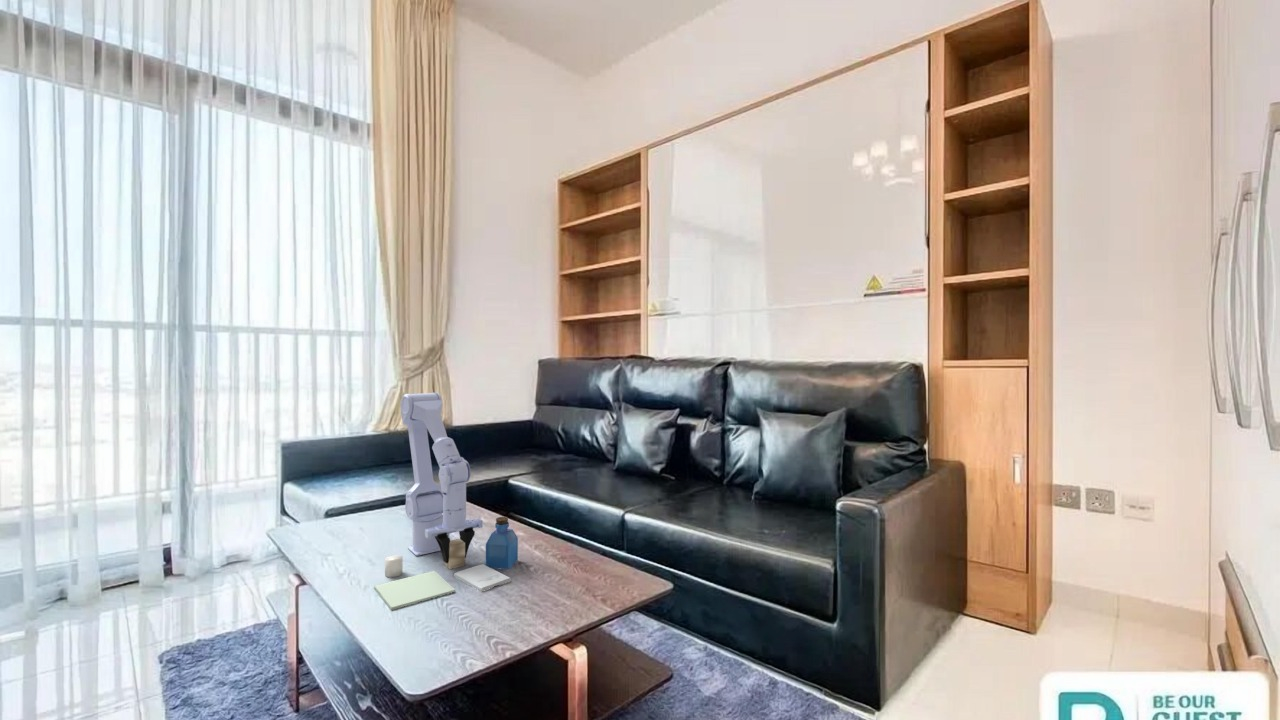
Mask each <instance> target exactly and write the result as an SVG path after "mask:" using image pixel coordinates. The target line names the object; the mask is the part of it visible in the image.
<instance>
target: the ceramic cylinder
mask: <svg viewBox="0 0 1280 720" xmlns="http://www.w3.org/2000/svg"><path fill="white" fill-rule="evenodd" d="M402 574H403V555H401V554H400V555H399V554H395V555H390V556H386V557H385V559H384V576H385V577H387V578H396V577H398V576H402Z"/></svg>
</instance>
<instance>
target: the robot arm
mask: <svg viewBox="0 0 1280 720" xmlns="http://www.w3.org/2000/svg"><path fill="white" fill-rule="evenodd" d="M400 401H401V402H400V406H399V407H400V414H401V415H400V416H401V421H402V424H403V425H404V426H407V430H408V438H409V439H408V440H409V447H410V454H411V462H412V470H413V471H412V472H413V478H414V484H413V486H412V487H411V488H410V489H409V490H407V492H406V493H405V505H404V507H405V508H404V509H405V514H406V517H407V518H408V519H409V520H411V521H412V545H408V546H407V549H408V550H409V551H410V552H411V553H412V554H414V555H415V556H416V557H417V556H418V557H419V556H422V555H426V554H432V553H435V552H441V555H442V561H443V563H444V562H445V563H448V562H449V543H450V540H451V538H450V534H452V533H457V532H458V533H459V539H461V540H462V541H463V542H465V559H467V555H468V551H469V548H470V545H471V542H472V540H473V538H474V537H475V534H476V533H475V530H474V529H476V528H478V529H480V528H483V522H484V521H483V519H481V518H475V519H473V518H472V519H467V482H469V481H470V479H471V474H472V473H471V467H470V463H469V462H468V461H467V459H465V458H464V457H463V456H461V455H460V452H459V450H458V448H457V445H456V443H455V441H454V439H453V438H451V437H448V435H447V431H446V427H445V424H444V421H443V418H442V415H441V414H442V412H443V398H442V396H441V394H440V393H439V392H437V391H436V392H425V393H405V394H404V395H403V396H402V397H401V400H400ZM428 432H429V433H428ZM428 434H429V435H430V436H431V438H432V440H433V442H434V443H433V444H432V447H431V449H432V451H433V454H434V456H435V460H436V462H437V464H438V467H439V471H438V479H439V483H440V484H439V483H437V482H435V480H434V474H433V465H432V459H431V450H430V443H429V442H430V441H429V435H428Z"/></svg>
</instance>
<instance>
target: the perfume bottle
mask: <svg viewBox="0 0 1280 720" xmlns="http://www.w3.org/2000/svg"><path fill="white" fill-rule="evenodd" d="M508 520H509V517H508V516H499V517H497V518H496V519H495V521H496V523H495V526H494V527H495V530H494V531H492V532H491V534H490V535H489V538H488V539H487V540H486V543H485V565H486V566H488V567H490V568H492V569H498V568H501V569H500V570H509V569H511V568H512V566H514V564H515V563H517V561H519V559H518V558H519V556H518V553H519V548H518V547H519V544H518V543H519V542H518V541H519V537H518V535H517V534H516V532H515V531H514V530H513V528H509V526H510V523H509V521H508Z"/></svg>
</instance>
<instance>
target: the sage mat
mask: <svg viewBox="0 0 1280 720" xmlns="http://www.w3.org/2000/svg"><path fill="white" fill-rule="evenodd" d="M373 586H374V587H373V589H374V590H375V591H376V593H377V594H378V595H379V596H380V598H381V599H382V600H383V602H384V603H385V604H386V606H387V607H388V608H389V610H390V611H393V610H397V609H401V608H404V606H405V607H408V606H411V604H412V605H415V604H419V603H421V602H420V601H422V602H425V601H424V600H426V601H428V600H427V599H429V600H431V599H430V598H433V599H435V598H434V597H437V596H440V597H443V596H442V595H444V596H446V595H445V594H447V595H450V594H449V593H451V594H453V593H452V592H454V593H456V589H455V588H454V587H453V586H452V585H451V584H450V583H448V582H447V581H446V580H445V579H444V578H443V577H442V576H441V575H440V574H439V573H437V572H436V571H435V570H432V571H428V572H424V573H420V574H415V575H412V576H408V577H405V578H400V579H396V580H392V581H389V582H384V583H380V584H377V585H373ZM437 598H438V597H437ZM418 602H419V603H418ZM414 603H415V604H414ZM407 605H408V606H407Z"/></svg>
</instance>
